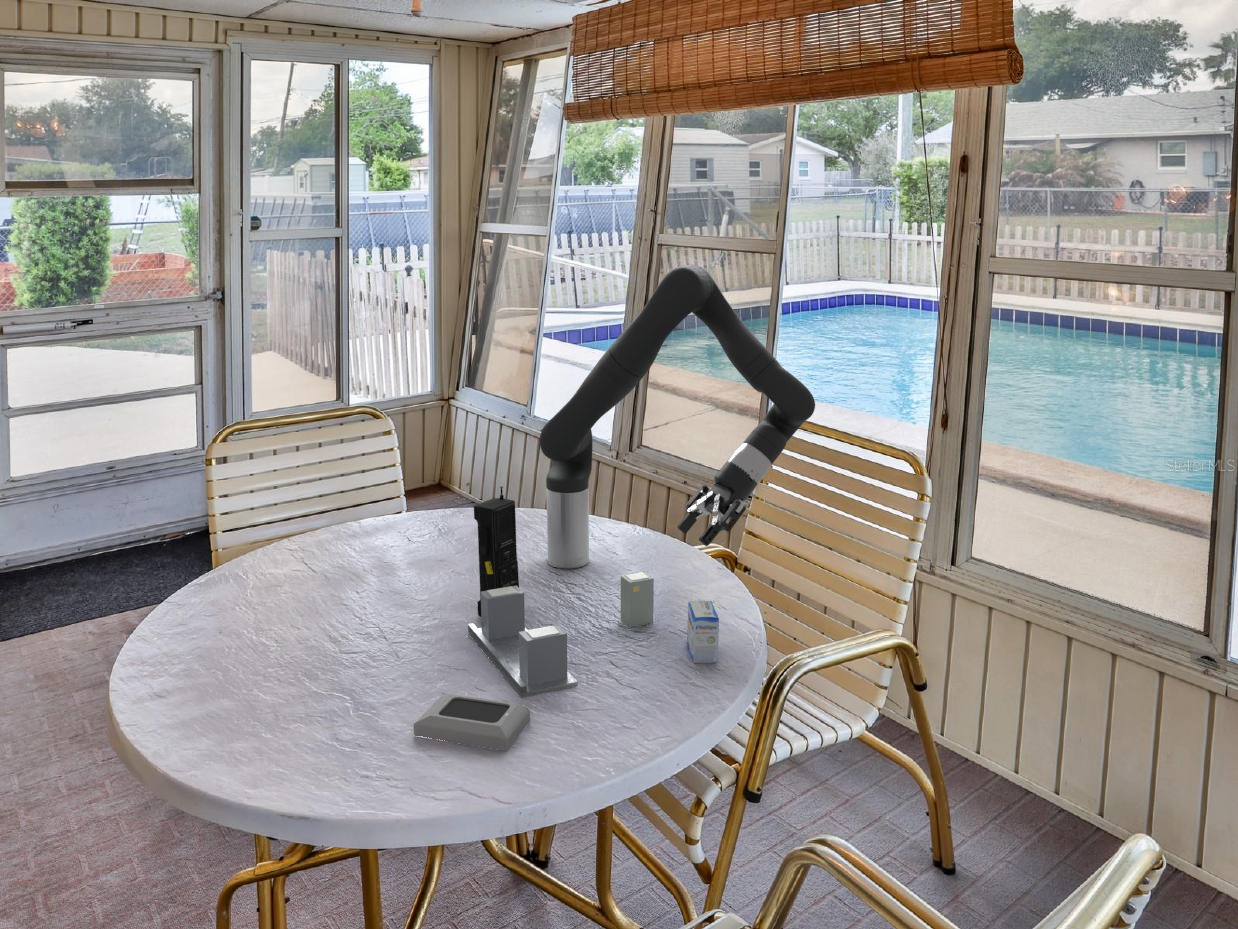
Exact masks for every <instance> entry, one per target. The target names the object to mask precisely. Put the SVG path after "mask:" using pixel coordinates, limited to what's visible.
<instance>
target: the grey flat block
mask: <svg viewBox="0 0 1238 929" xmlns="http://www.w3.org/2000/svg"><path fill="white" fill-rule="evenodd" d="M530 721H531V710H530V709H529V707H527V706H525V705H522V704H519V703H515V702H508V701H503V700H502V701H500V700H493V699H488V698H487V699H486V698H479V697H474V696H468V695H459V694H452V693H450V694H442V695H440V697H439V698H438V699H437V700H436V701H435V702H434V703H432V705H431V706H429V708H428V709H427V710H426V711H425V712H424V713H423V714H422V715H421V716H420V717H419V718H418V719H417V720H416V721H415V722H414V723H413V736H414V735H415V736H423V737H427V738H428V737H429V738H432V739H438V740H439V739H440V740H443V741H442V742H444V740H445V741H448V742H447V743H450V742H453V743H452V744H456V743H460V744H459V745H463V744H465V745H464V746H469V745H470V746H471V747H476V746H480V747H479V748H482V747H485V748H484V749H488V748H489V750H495V749H498V750H497V751H501V750H503V751H502V752H508V751H509V749H510V748H511V747H512V745H514V743H515V742H516V741H517V739H518V738H519V736H520V735H521V733H522V732H523V731H524V730H525V729H526V727H527V726H528V724H529V723H530ZM470 746H469V747H470ZM490 748H491V749H490Z"/></svg>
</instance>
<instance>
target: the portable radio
mask: <svg viewBox="0 0 1238 929" xmlns="http://www.w3.org/2000/svg"><path fill="white" fill-rule="evenodd" d="M499 488H500V495H499V497H493V498H490V499H487V500H485V501H482V502H479V503H477V504H475V505H473V519H474V520H475V521H476V522H477V542H478V543H477V544H478V566H479V568H478V572H479V573H478V574H479V575H478V576H479V600H478V601H476V602H477V604H476V605H477V616H479V617H480V618H481V591H487V590H492V589H498V588H504V587H510V586H518V587H519V588H520V582H519V562H518V561H519V560H518V553H517V524H516V523H517V522H516V520H517V519H516V501H515V500H513V499H507V498H504V495H503V488H504V486H499Z"/></svg>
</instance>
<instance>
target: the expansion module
mask: <svg viewBox="0 0 1238 929" xmlns="http://www.w3.org/2000/svg"><path fill="white" fill-rule="evenodd" d="M654 580H655V579H654V577H653V576H651V575H650V574H648V573H646V571H641V572H635V573H629V574H628V573H627V574H622V575H620V621H622V623H624V624H625V625H627V626H628V627H629V628H633V626H634V627H638V626H643V624H644V625H648V623H649V624H653V623H654V593H655V592H654V588H655V587H654V582H655V581H654Z"/></svg>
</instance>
